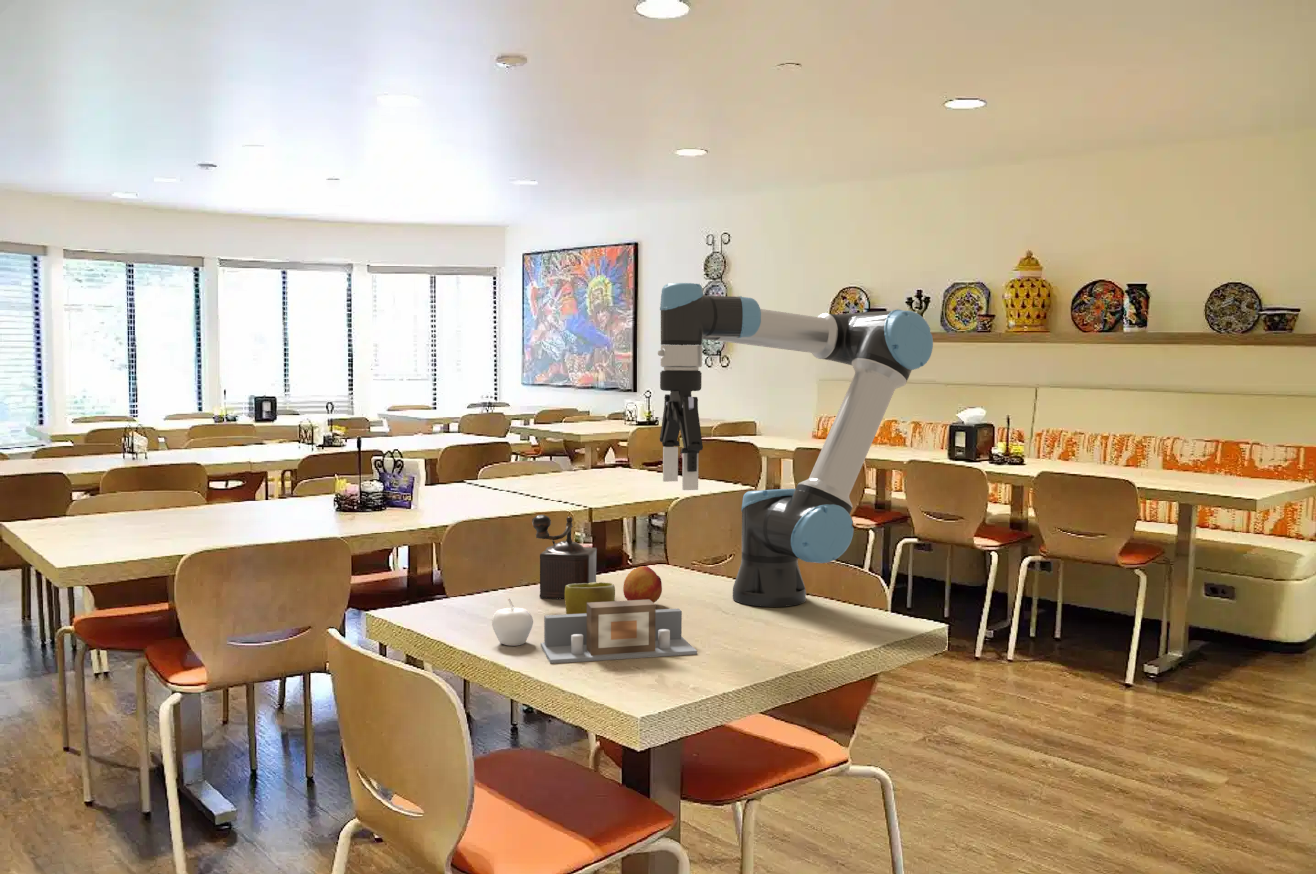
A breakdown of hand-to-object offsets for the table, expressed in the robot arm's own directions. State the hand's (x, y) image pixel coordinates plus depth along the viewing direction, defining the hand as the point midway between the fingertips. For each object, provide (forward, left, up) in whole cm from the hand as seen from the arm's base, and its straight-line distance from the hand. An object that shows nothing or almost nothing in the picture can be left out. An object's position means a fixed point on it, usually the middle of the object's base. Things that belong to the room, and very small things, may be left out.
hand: (679, 485), depth 200 cm
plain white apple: (+31, +3, -27) cm, 41 cm away
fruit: (+2, -20, -27) cm, 34 cm away
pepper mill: (+16, -32, -27) cm, 45 cm away
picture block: (+14, +14, -26) cm, 33 cm away
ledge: (+14, +11, -27) cm, 32 cm away
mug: (+15, -7, -27) cm, 32 cm away
